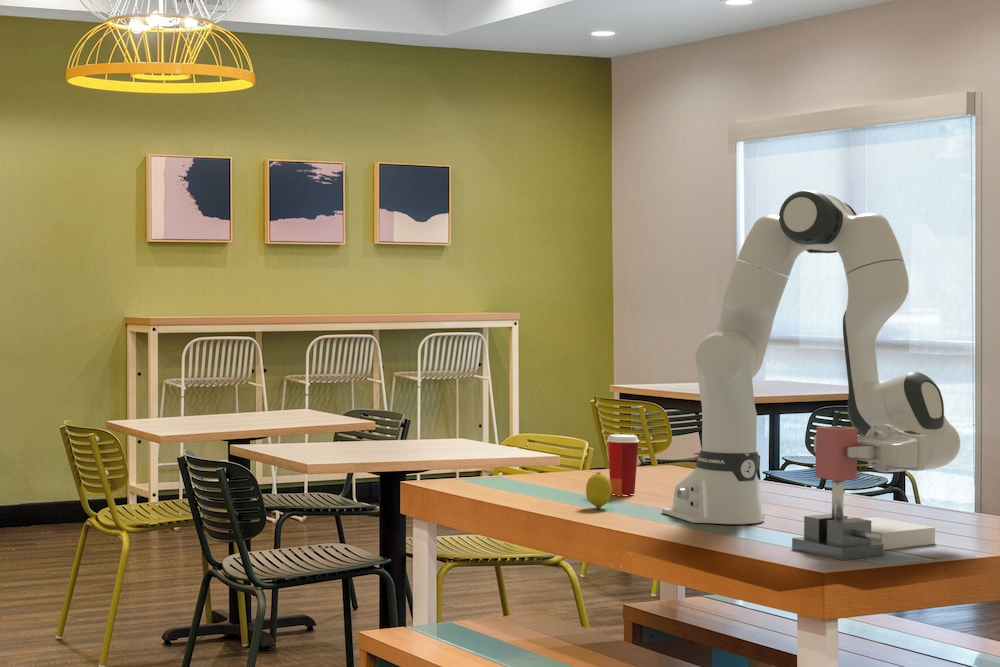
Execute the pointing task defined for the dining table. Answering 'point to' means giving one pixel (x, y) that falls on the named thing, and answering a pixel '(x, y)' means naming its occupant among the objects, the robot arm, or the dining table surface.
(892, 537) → the block
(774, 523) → the dining table surface
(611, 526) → the dining table surface
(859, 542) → the vise
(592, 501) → the lemon
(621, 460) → the paper cup
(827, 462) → the sleeve
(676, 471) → the dining table surface
